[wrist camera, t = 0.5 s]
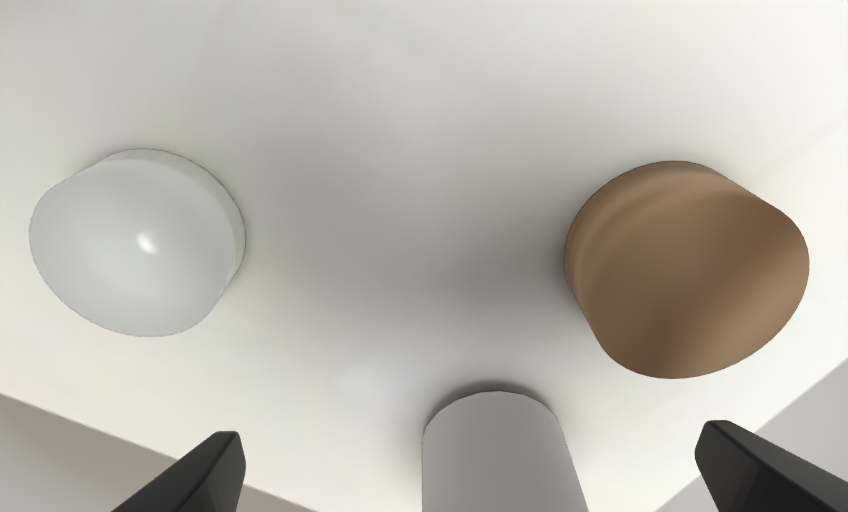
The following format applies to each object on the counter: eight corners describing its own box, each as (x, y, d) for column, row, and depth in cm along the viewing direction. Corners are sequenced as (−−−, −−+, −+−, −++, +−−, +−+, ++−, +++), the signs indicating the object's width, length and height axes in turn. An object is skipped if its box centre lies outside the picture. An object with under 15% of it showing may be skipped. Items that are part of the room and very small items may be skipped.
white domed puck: (59, 255, 23) (12, 290, 20) (101, 115, 20) (52, 136, 17) (212, 321, 24) (187, 361, 22) (270, 201, 22) (250, 231, 19)
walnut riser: (527, 276, 23) (547, 328, 20) (647, 124, 20) (696, 153, 17) (658, 347, 25) (698, 405, 22) (786, 218, 22) (856, 262, 19)
